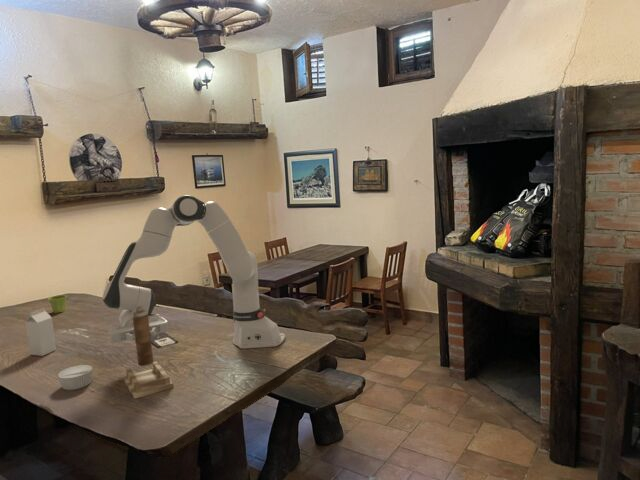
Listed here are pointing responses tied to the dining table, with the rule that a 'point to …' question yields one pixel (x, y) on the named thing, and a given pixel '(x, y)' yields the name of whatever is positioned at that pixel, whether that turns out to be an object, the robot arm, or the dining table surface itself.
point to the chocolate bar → (162, 340)
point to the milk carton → (40, 333)
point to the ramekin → (75, 377)
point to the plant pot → (58, 303)
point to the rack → (147, 381)
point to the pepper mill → (142, 337)
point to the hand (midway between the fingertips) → (143, 336)
